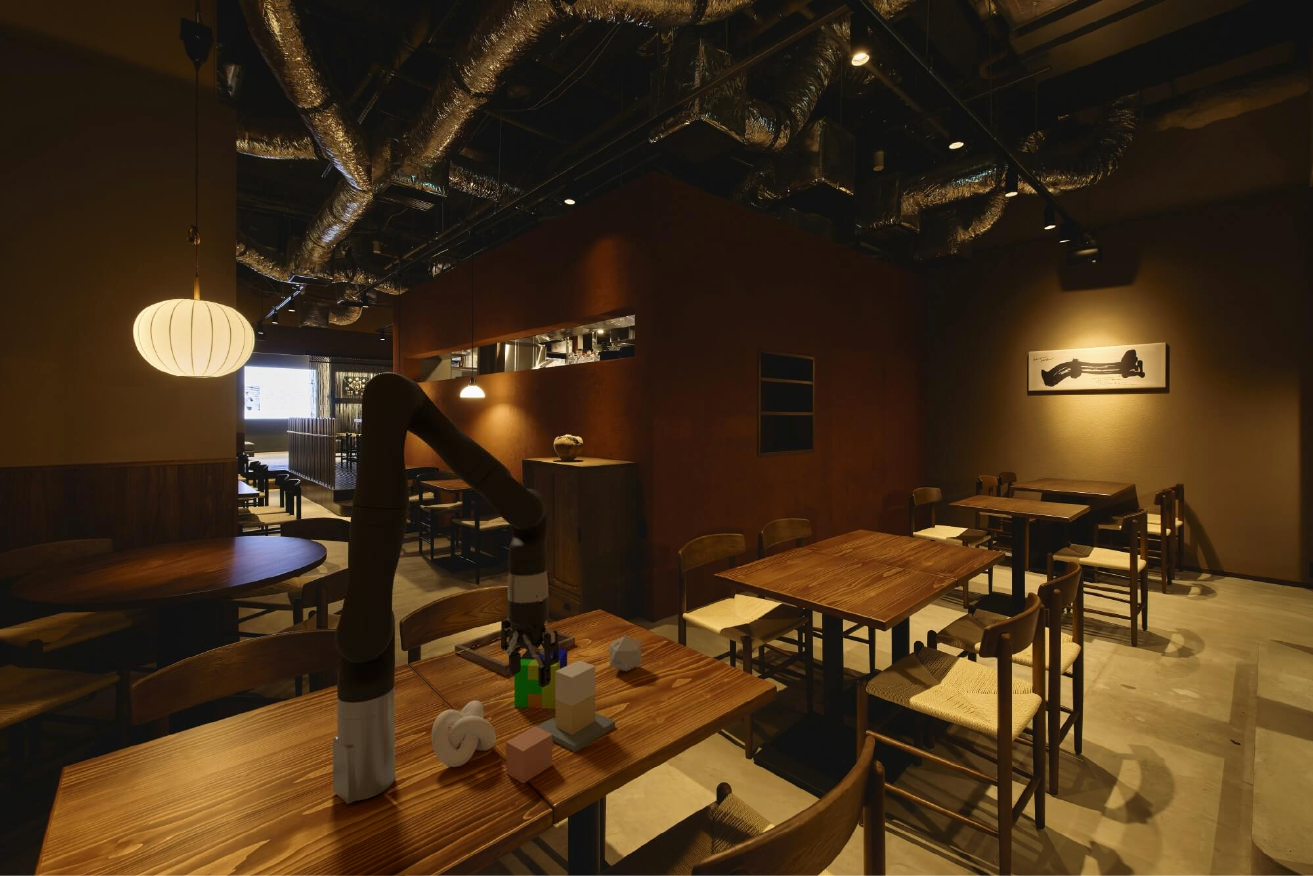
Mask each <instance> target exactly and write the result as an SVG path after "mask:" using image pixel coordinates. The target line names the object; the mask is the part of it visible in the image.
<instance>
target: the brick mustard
mask: <svg viewBox="0 0 1313 876" xmlns="http://www.w3.org/2000/svg"><path fill="white" fill-rule="evenodd" d="M595 713H596V693H595V694H594V695H592V696H590V697H588V698H586V699H584V700H582V701H581V702H579V703H577V704H575V705H573V706H570V705H568V704H565V703H563V702H561V701H559V700H556V709H555V716H556V728H558V729H561V730H563V731H565V732H567V733H569V734H571V735H573V734H575V733H576V732H578V731H580V730H581V729H583V728H584V727H586V726H588V725H589V724H591V723H593V722H594V721H596V717H595Z"/></svg>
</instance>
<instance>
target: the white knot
mask: <svg viewBox="0 0 1313 876" xmlns="http://www.w3.org/2000/svg"><path fill="white" fill-rule="evenodd" d="M484 712H485V709H484V706H483V703H482V702H481V701H479V700H472V701H469V702H467V704H466V705H465V706H464V707H463V708H462V709H461V711H459V710H455V709H451V708H450V709H447V710H445V711H442V712H441V713H439V714H438V716H436V719H435V721H434V722H433V725H432V728H431V744H432V748H433V752H434V753H435V755H436V757H437V759H438V760H439V761H440V762H441V763H442V764H444V765H445V766H448V767H451V768H456V767H461V766H463V765H465V764H466V763H467V762H468V761H470V759H471V758H472V757H473V754H474V753H475V751H476V750H478V751H488V750H490V749H492V748H493V746H494V744H495V743H496V740H497V733H496V731H495V729H494V726H493V725H492V724H491V723H490V722H489V721H488V720H486V719H485V718H484V715H485V713H484ZM449 727H450V729H449Z"/></svg>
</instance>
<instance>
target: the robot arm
mask: <svg viewBox="0 0 1313 876" xmlns="http://www.w3.org/2000/svg"><path fill="white" fill-rule="evenodd" d="M361 396H362V397H361V427H360V428H361V438H360V439H361V441H360V450H359V451H360V452H359V460H358V462H357V463H358V466H357V472H356V478H355V486H354V492H353V493H354V494H353V498H352V507H351V512H350V513H351V514H350V521H349V531H348V532H349V535H348V547H347V548H348V549H347V550H348V551H347V554H348V556H347V564H348V565H347V581H346V582H347V584H346V589H345V594H344V600H343V604H342V608H341V612H340V616H339V620H338V622H337V623H338V624H337V626H336V630H335V632H334V642H335V646H336V648H337V650H338V653H339V656H338V657H339V659H338V661H339V665H338V672H337V673H338V675H337V680H336V681H337V683H336V684H337V685H336V687H337V688H336V689H337V690H336V691H337V694H336V695H337V736H335V737H334V738H332V784H333V785H332V786H333V787H332V791H333V793H335V794H336V795H338V797H340V799H341V800H342V801H344V802H345V803H346V804H347V805H349V804H351V803H353V802H357V801H361V800H366V799H369V798H373V797H376V796H377V795H380V794H382V793H383V792H384V791H386V790H388V788H390V787H391V786H392V784H393V783H394V782H395V779H396V736H395V735H396V730H395V728H396V727H395V726H396V725H395V724H396V723H395V722H396V721H395V720H396V719H395V717H396V716H395V715H396V713H395V711H396V709H395V707H396V706H395V704H396V703H395V702H396V701H395V700H396V699H395V698H396V697H395V696H396V692H395V690H396V689H395V688H396V687H395V682H396V681H395V677H396V676H395V673H396V672H395V671H396V619H395V614H394V610H393V595H394V593H393V591H394V582H395V577H396V573H397V572H396V571H397V568H398V565H399V561H400V559H401V558H400V557H401V553H402V549H403V545H404V541H405V537H406V536H405V535H406V530H407V525H408V523H407V522H408V515H409V506H410V486H409V479H408V475H407V474H408V472H407V468H406V462H405V448H406V440H407V434H408V432H409V433H412V434H413V436H414V435H415V436H416V437H417V438H419V439H420V440H422V442H424V443H425V444H427V446H428V447H430V448H431V449H432V450H433V451H434V452H435V453H436V454H437V455H438V457H440V459H441V460H442V461H443V462H444V463H445V464H446V466H447V467H448V468H449V469H450V470H451V471H452V472H453V473H454V474H455V475H456V476H457V477H458V478H459V479H460V480H462V481H463V482H464V483H465V484H466V485H467V486H468V487H470V488H472V490H474V491H475V492H476V493H477V494H479V495H480V496H481V497H483V498H484V499H485V500H486V501H487V503H488V504H489V505H490V506H491V507H492V508H493V509H494V511H496V513H497V514H498V515H499V516H500V517H501V518H502V519H503V520H504V521H505V522H507V523H508V524H509V525H510V526H511V542H510V543H509V548H508V577H507V618H505V619H503V620H501V621H500V623H501V624H500V628H501V629H500V630H501V638H500V649H501V651H506V655H507V656H508V662H509V671H510V674H509V675H512V676H514V675H515V674H517V673H519V672H520V671H521V657H522V655H521V650H522V649H525V650H526V651H527V650H528V651H530V652H531V655H532V657H535V658H536V660H537V663H538V665H539V667H538V685H539V686H540V687H545V686H547V685H548V684H549V683H550V681H551V665H554V664H556V663H558V662H559V646H558V642H559V641H558V632H559V631H557V629H554V630H553V631H551V632H550V631H546V628H547V627H546V621H547V619H548V618H549V580H548V571H547V549H546V535H547V525H548V504H547V501H546V500H547V499H546V498H545V497H544V495H543V494H542V493H541V492H540V491H538V490H536V489H533V488H526V487H525V486H524V485H523V484H522V483H520V482H519V481H518V480H517V479H516V478H514V477H513V476H512V473H511V470H509V469H508V467H507V466H505V465H504V463H502V462H501V461H500V460H498V459H497V458H496V457H495V455H492V454H491V453H490V452H488V450H487V449H485V448H484V447H482V446H481V445H480V444H479V443H478V442H476V441H475V440H474V438H471V437H470V436H469V435H467V434H466V433H465V432H464V431H463V430H461V429H460V428H459V427H458V426H457V425H456V424H455V423H453V422H452V420H451V419H449V418H448V417H447V415H446V414H444V413H443V412H442V411H441V410H440V408H439V407H438V406H437V405H436V404H435V403H434V401H433V400H432V399H431V398H430V397H429V395H428V394H427V393H426V392H425V391H424V390H423V388H422V387H421V385H420V384H419V383H418V382H417V381H415V380H413V379H411V378H410V377H409V378H408V377H407V376H404V375H402V374H399V373H396V372H390V371H385V372H380V373H378V374H376V375H375V376H373V377H372V378H370V380H369V381H368V382H367V384H366V385H365V386H364V389H363V392H362V395H361ZM507 640H508V641H507ZM540 647H541V648H540ZM537 649H539V650H537ZM552 652H553V657H551V653H552ZM541 654H544V657H545V659H544V660H543V659H542V656H541Z"/></svg>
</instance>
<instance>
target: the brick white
mask: <svg viewBox="0 0 1313 876" xmlns="http://www.w3.org/2000/svg"><path fill="white" fill-rule="evenodd" d="M555 676H556V700H559V701H561V702H563V703H565V704H568V705H570V706H573V705H575V704H577V703H579V702H581V701H582V700H584V699H586V698H588V697H590V696H592V695H594V694H595V695H596V665H593V664H590V663H587V662H585V661H582V660H576V661H575V662H573V663H571V664H567V666H566V667H564V668H561V669H559V670H557V671H555Z"/></svg>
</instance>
